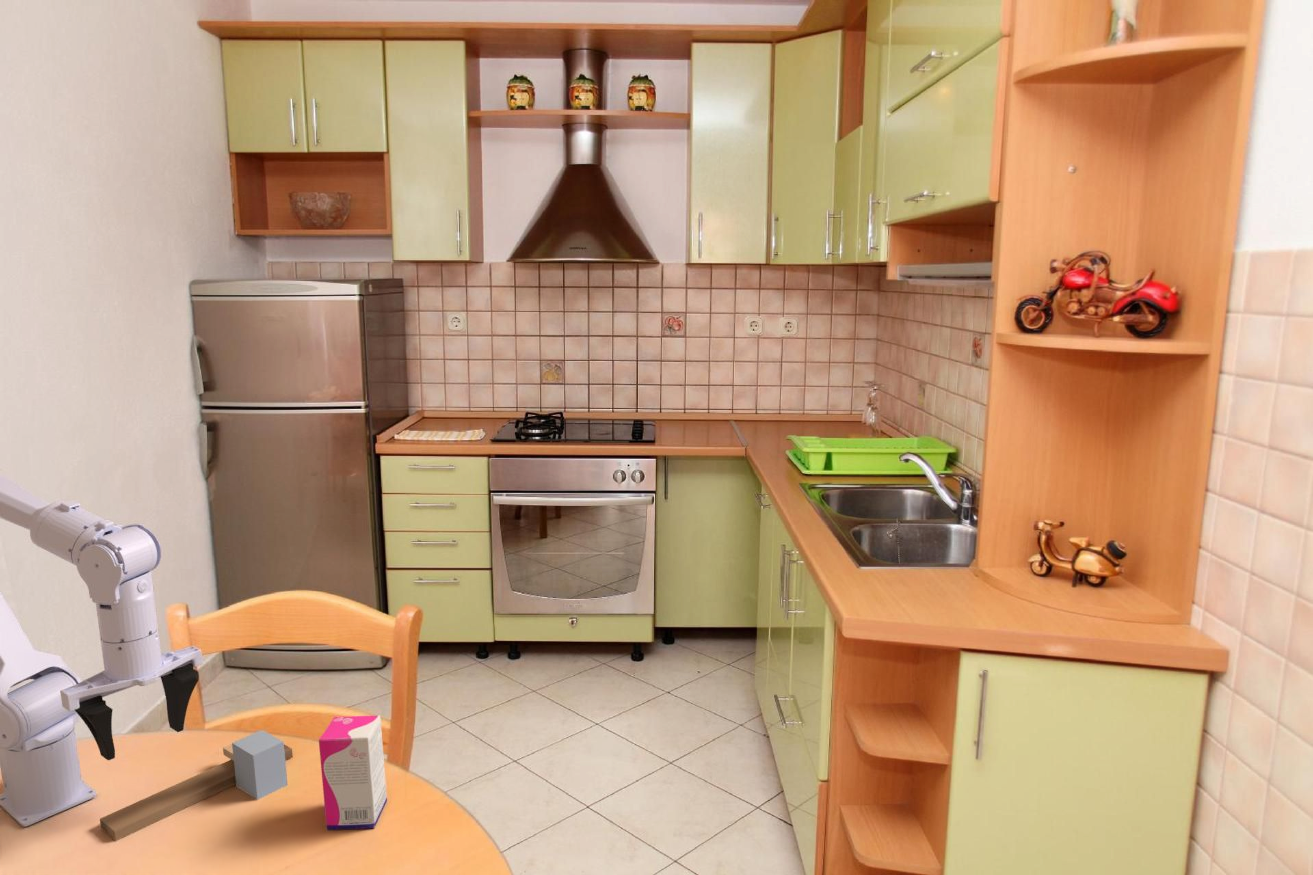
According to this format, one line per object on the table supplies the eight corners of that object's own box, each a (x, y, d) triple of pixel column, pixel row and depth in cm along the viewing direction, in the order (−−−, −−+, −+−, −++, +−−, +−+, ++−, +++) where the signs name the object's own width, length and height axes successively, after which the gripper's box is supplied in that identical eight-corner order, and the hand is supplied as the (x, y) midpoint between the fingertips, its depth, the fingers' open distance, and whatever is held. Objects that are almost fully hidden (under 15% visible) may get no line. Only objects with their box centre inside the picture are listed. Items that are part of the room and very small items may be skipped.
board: (100, 827, 105) (99, 817, 104) (276, 747, 122) (275, 738, 122) (116, 840, 102) (114, 830, 102) (292, 756, 119) (291, 748, 119)
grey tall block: (214, 771, 116) (209, 729, 115) (243, 758, 119) (239, 717, 118) (257, 799, 110) (253, 755, 109) (287, 784, 113) (283, 741, 112)
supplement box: (388, 799, 110) (382, 713, 108) (375, 829, 104) (368, 739, 102) (340, 800, 110) (333, 714, 107) (324, 830, 104) (317, 740, 102)
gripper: (73, 664, 94) (89, 781, 96) (210, 620, 105) (221, 726, 108) (46, 647, 98) (63, 760, 101) (181, 607, 109) (192, 709, 112)
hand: (143, 742), depth 104 cm, fingers open, 7 cm apart
